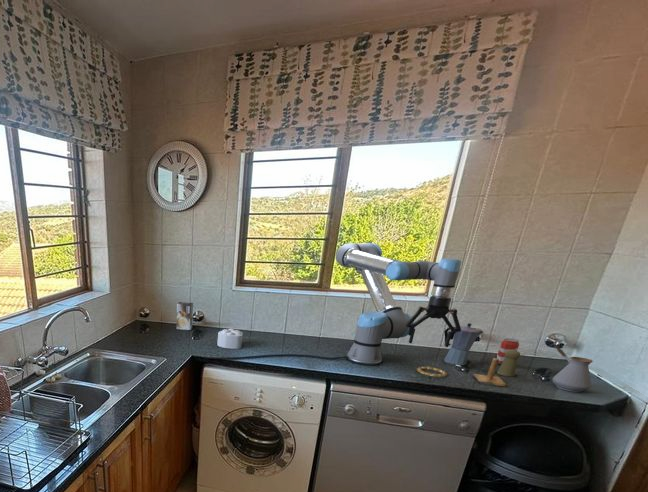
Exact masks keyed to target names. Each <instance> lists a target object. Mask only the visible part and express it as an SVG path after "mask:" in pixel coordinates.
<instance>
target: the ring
mask: <svg viewBox="0 0 648 492" xmlns="http://www.w3.org/2000/svg"><path fill="white" fill-rule="evenodd" d="M424 370H430V371H431V370H432V371H436V372H439V374H438V373H430V372H428V371H424ZM416 371H417V372H418V373H420V374H422V375H425V376H429V377H436V378H445V377H447V376H448V373H447V372H446V371H445V370H443V369H440V368H437V367H432V366H419V367H417V368H416Z"/></svg>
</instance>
